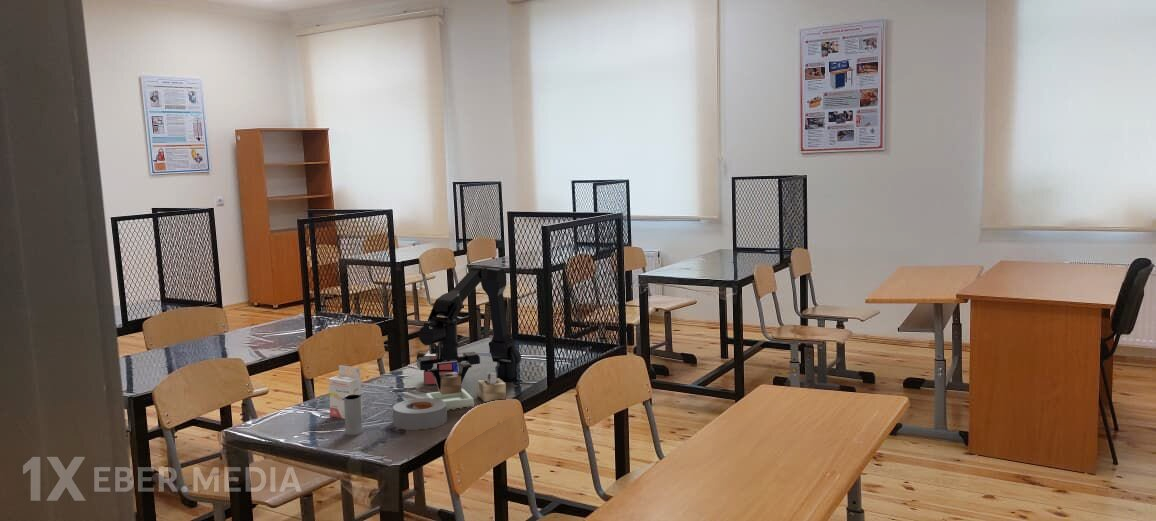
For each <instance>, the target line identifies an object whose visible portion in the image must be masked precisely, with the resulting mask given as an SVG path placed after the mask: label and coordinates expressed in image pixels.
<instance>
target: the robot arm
mask: <svg viewBox="0 0 1156 521" xmlns="http://www.w3.org/2000/svg"><path fill="white" fill-rule="evenodd" d="M479 284H480V285H481V289H482V290H483V291H484V292H485V294H486V295H487V298H488V306H489V314H490V319H491V325H492V326H491V327H492V334H493V336H492V338H491V340H490V341H489V342H488V347H489V354H490V356H491V360H492V363H496V366H495V369H494V370H495V372H496V378H499V379H501V380H502V381H503V382H504V383H507V382H515V381H519V380H520V379H519V378H518V364H520V362H521V360H522V354H521V353H520V352H519V351H518V349H517V348H516V344H515V341H514V339H513V337H512V336H511V335H510V334H509V330H508V322H507V314H506V308H505V306H506V305H505V300H504V291H505V289H506V287H507V275H506V271H505V270H503V269H501V268H491V267H484V266H471V267H470V268H469V270H468V272H467V273H466V274H465V275H464V276H463V278H461V280H460V281H458V283H457V284H456V285H455V286H454V287H453V289H451V290H450V291H448V292H446V293H443V294H441V295H440V296H439V297H438V298H436V300H435V301H434V302H433V307H432V308H431V310H430V313H429V316H428V318H427V321H424V322H423V326H422V327H421V328H420V329H419V331H418V335H417V336H418V340H419V341H420V343H422V344H423V345H424V346H428V351H429V352H430V354H436V357H439V359H431V358H430V357H424V356H422V357H418V358H417V359H416V367H417V368H418V369H419V370H420V371H425V370H428V371H429V372H432V374H433V376H434V378H435V381H436V384H437V385H436V387H437V390H438V389H440V374H439V369H438V368H437V365H442V364H451V363H457V364H458V374H459V375H460V376H461V385H462V383H463V380H464V379H465V376H466V374H467V372H468V370H469V369H470V368H472V365H479V364H481V357H480V355H479V354H478V353H476V352H475V351H467V352H463V354H462V355H461V356H459V354H458V347H459V343H458V326H457V325H458V323H460V322H461V321H462V319H460V317H458V316H459V314H460V312H462V310H463V308H464V301H465V300H466V299H467V298H468V296H470V295H471V293H472V292H473V291H474V290H475V289H476V287H477V286H478V285H479ZM451 360H452V361H451ZM443 361H444V362H443Z"/></svg>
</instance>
